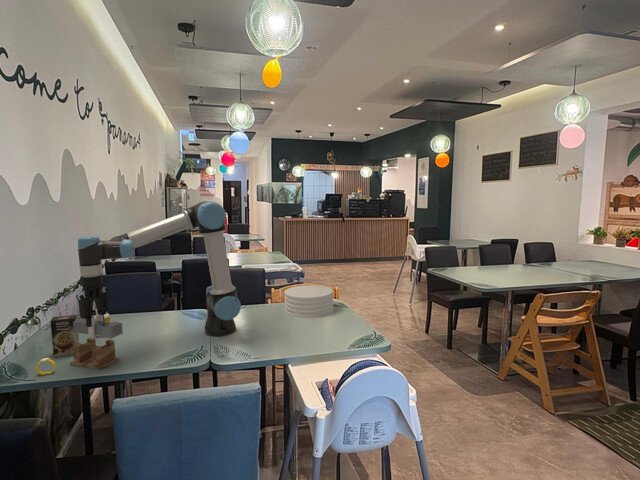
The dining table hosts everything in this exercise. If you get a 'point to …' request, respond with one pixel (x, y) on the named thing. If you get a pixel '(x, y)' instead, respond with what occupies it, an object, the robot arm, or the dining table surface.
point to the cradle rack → (94, 354)
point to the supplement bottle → (106, 319)
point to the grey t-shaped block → (99, 328)
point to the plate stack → (308, 301)
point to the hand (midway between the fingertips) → (96, 332)
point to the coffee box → (63, 335)
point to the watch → (45, 361)
